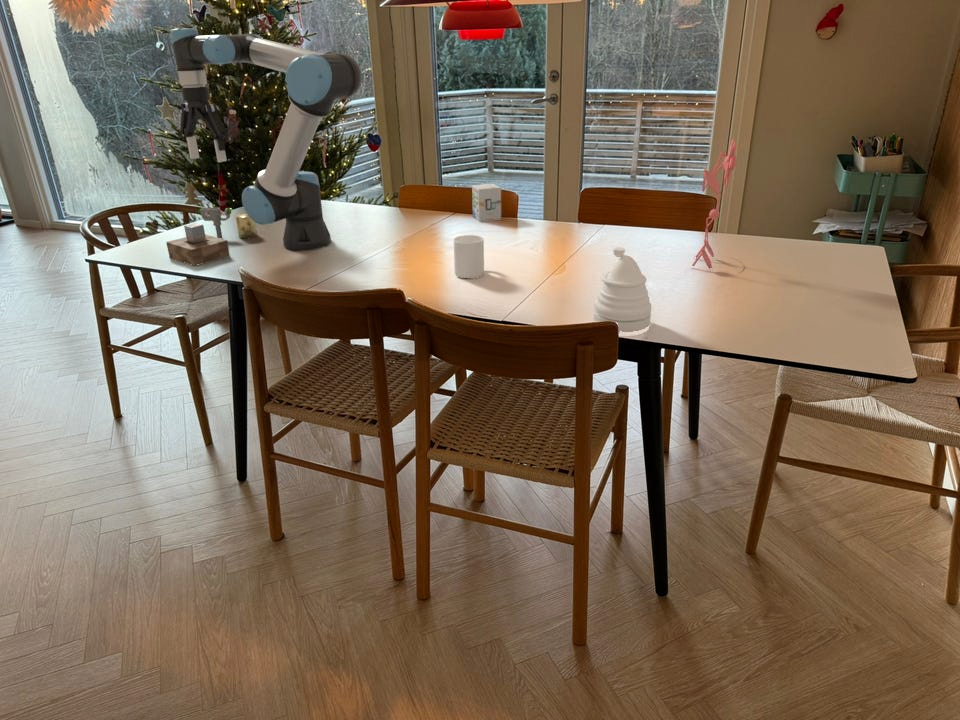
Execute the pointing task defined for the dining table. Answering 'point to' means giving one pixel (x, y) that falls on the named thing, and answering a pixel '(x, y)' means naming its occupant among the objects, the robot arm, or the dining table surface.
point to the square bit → (195, 233)
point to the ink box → (486, 202)
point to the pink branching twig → (712, 182)
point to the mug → (469, 256)
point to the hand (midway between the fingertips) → (208, 160)
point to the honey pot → (624, 295)
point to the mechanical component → (215, 217)
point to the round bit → (246, 226)
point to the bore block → (198, 250)
